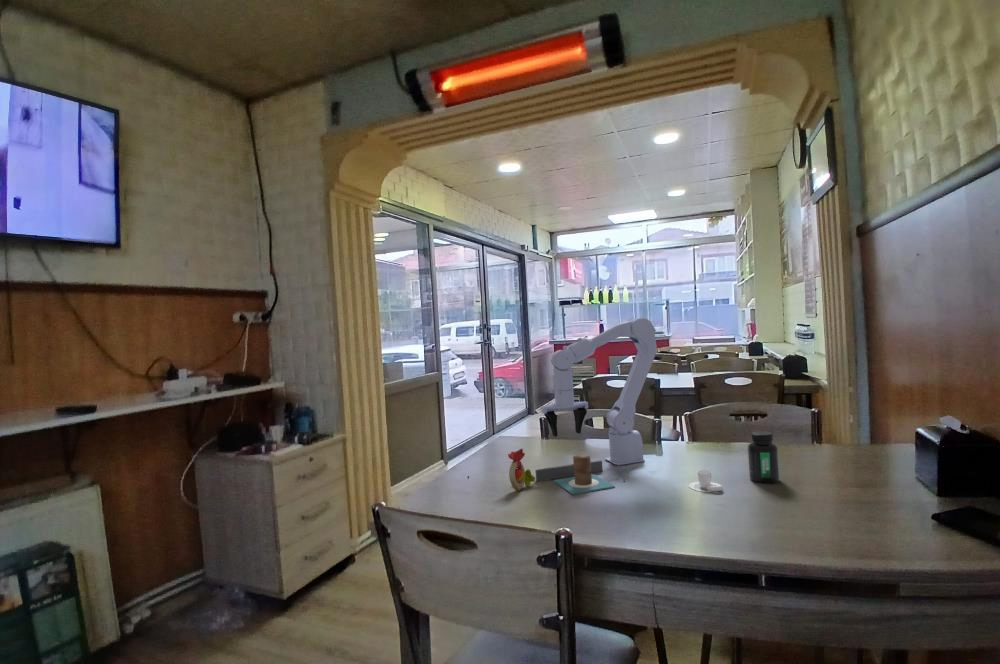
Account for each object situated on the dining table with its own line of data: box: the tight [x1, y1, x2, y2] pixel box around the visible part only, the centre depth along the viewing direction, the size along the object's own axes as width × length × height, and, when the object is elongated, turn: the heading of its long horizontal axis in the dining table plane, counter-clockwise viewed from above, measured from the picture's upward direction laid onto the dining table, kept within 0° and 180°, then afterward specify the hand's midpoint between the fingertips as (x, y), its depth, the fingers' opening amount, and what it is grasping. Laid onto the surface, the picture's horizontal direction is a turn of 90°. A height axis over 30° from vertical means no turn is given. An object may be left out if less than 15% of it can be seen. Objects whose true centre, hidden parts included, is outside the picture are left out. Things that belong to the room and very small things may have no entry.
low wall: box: [534, 459, 603, 482], centre depth 147 cm, size 20×1×3 cm, turn 106°
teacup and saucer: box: [688, 470, 724, 493], centre depth 130 cm, size 9×8×4 cm
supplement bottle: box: [747, 430, 780, 485], centre depth 132 cm, size 7×7×12 cm
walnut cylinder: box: [572, 453, 592, 485], centre depth 138 cm, size 4×4×7 cm
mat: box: [553, 473, 616, 495], centre depth 138 cm, size 12×12×1 cm
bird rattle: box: [507, 448, 536, 493], centre depth 138 cm, size 6×11×9 cm
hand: (566, 434), depth 157 cm, fingers open, 7 cm apart
